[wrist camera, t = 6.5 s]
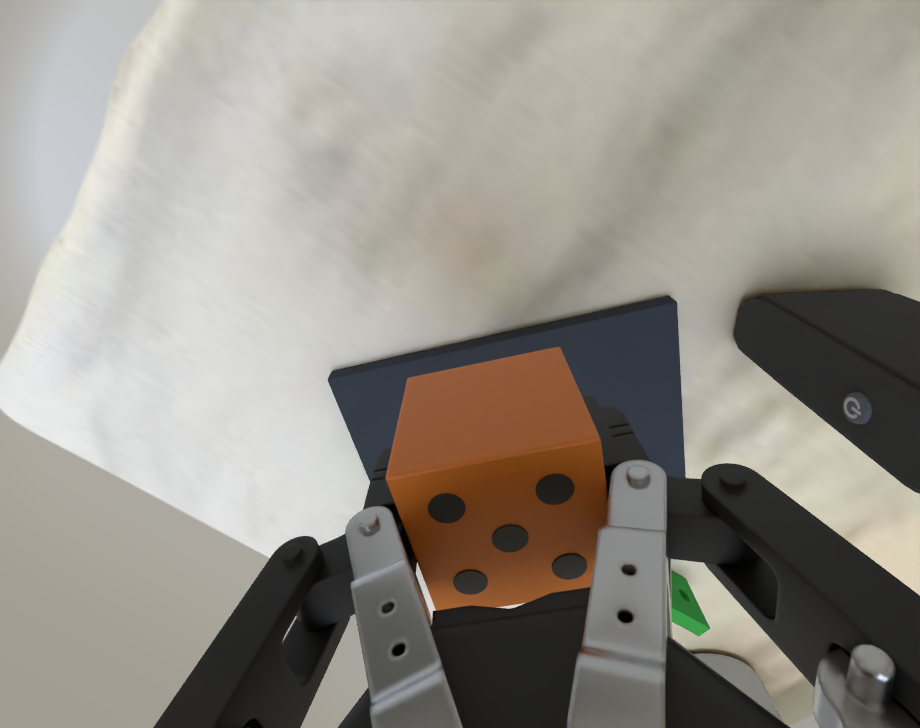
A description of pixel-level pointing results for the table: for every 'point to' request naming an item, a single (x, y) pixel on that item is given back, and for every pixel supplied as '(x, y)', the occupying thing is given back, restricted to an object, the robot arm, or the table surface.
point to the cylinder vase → (740, 678)
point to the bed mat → (588, 356)
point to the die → (499, 480)
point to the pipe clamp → (686, 606)
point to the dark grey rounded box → (846, 365)
